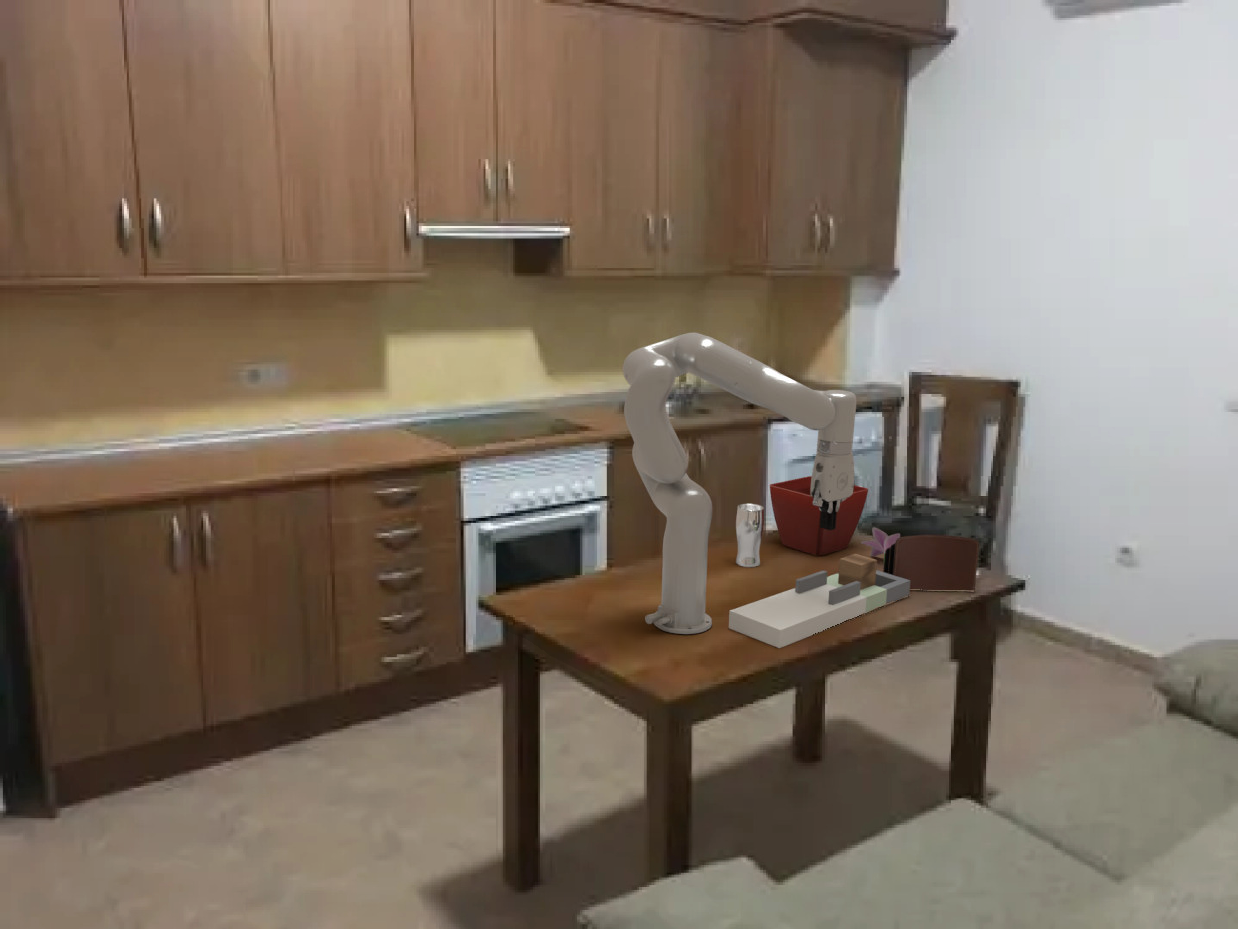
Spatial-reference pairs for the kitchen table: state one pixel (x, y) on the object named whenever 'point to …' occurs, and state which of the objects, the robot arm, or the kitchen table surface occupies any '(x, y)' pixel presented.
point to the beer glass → (749, 534)
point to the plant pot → (813, 517)
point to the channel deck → (813, 607)
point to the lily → (880, 541)
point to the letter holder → (934, 561)
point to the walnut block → (857, 570)
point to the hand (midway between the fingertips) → (827, 528)
